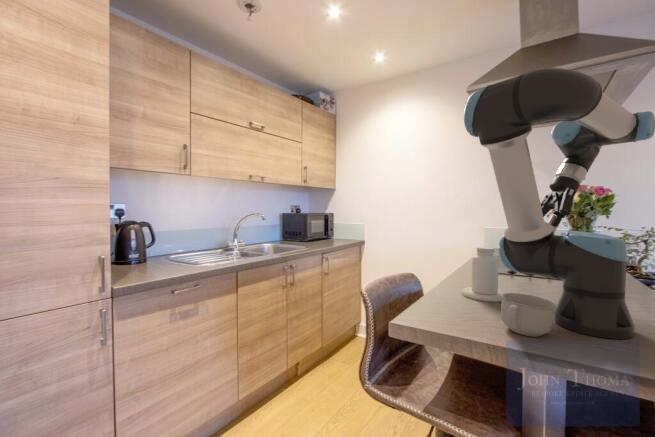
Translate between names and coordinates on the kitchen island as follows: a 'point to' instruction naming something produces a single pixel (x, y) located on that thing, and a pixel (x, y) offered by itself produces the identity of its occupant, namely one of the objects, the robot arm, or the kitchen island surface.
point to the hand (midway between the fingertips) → (535, 236)
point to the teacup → (527, 314)
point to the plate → (482, 295)
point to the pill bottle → (485, 271)
